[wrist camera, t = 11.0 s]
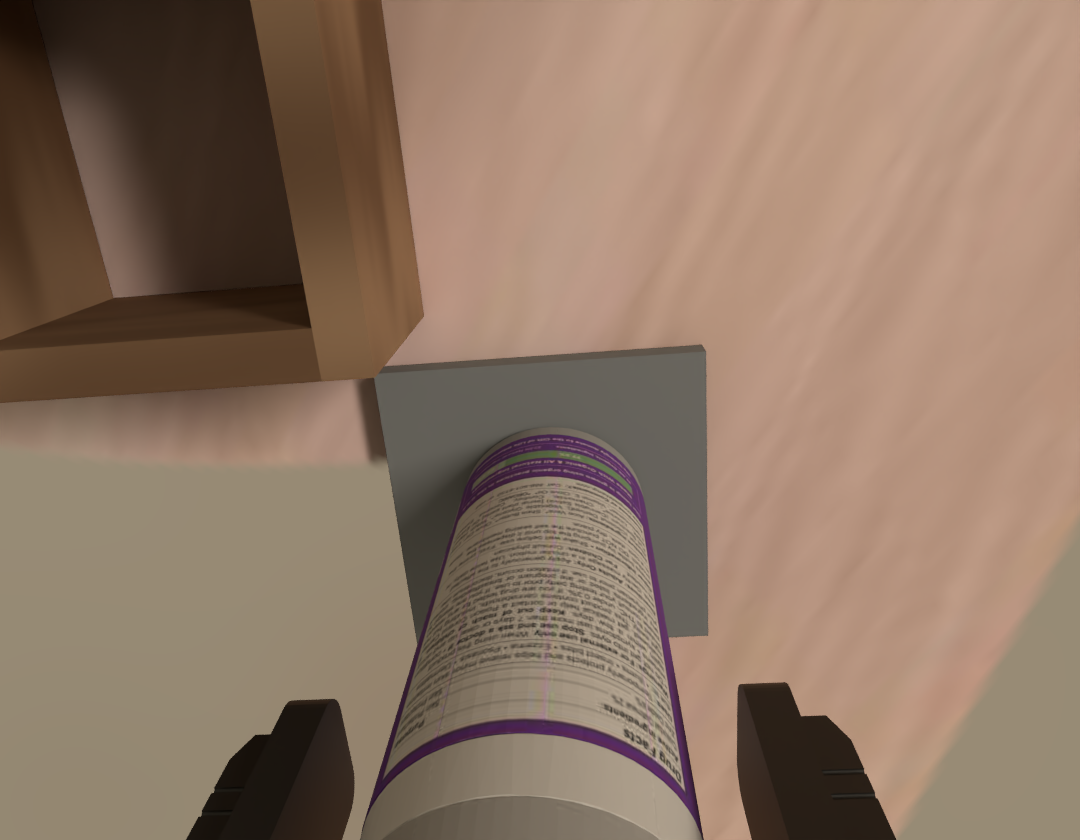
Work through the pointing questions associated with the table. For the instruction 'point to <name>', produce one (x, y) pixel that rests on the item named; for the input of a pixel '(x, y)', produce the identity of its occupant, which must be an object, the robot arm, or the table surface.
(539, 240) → the table surface
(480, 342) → the table surface
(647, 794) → the container
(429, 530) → the mat
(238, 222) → the table surface
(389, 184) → the holder
